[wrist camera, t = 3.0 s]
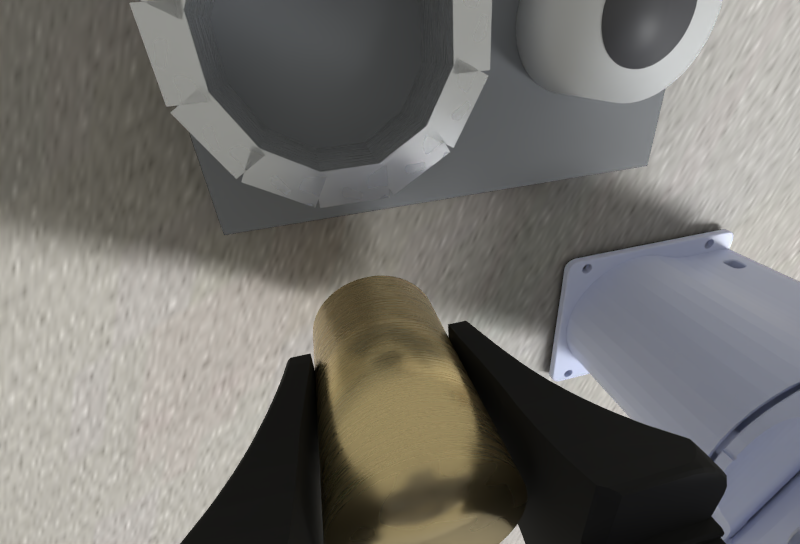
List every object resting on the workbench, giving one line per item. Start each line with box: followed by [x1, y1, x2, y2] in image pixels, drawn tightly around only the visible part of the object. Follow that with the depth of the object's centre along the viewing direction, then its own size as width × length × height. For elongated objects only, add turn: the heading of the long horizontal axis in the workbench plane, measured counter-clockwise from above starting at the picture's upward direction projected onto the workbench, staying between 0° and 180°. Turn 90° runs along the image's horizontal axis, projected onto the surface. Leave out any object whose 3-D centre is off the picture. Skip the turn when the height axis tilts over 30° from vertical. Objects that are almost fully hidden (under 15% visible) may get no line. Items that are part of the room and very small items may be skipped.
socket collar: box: [129, 0, 492, 208], centre depth 10 cm, size 8×8×3 cm
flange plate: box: [189, 0, 723, 235], centre depth 12 cm, size 17×11×4 cm, turn 95°
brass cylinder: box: [313, 276, 527, 544], centre depth 11 cm, size 4×4×7 cm
